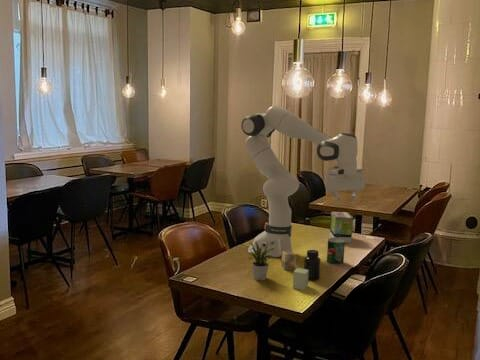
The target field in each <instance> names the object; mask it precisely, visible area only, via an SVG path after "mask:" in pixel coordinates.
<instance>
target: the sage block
mask: <svg viewBox="0 0 480 360" xmlns="http://www.w3.org/2000/svg"><path fill="white" fill-rule="evenodd" d="M308 273H309V270H307V269H304V268H299V267H295V270H294V271H293V274H292V275H293V278H292V289H295V290H300V291H306V289H307V288H308V284H309V280H308Z"/></svg>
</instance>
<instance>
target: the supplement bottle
mask: <svg viewBox="0 0 480 360" xmlns="http://www.w3.org/2000/svg"><path fill="white" fill-rule="evenodd" d="M303 269H307V270H309V273H308V281H311V282H312V281H318V280H319V279H320V277H321V258H320V256H319V251H318V250H316V249H308V250H307V251H306V256H305V257H304V263H303Z"/></svg>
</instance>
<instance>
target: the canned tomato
mask: <svg viewBox="0 0 480 360" xmlns="http://www.w3.org/2000/svg"><path fill="white" fill-rule="evenodd" d="M345 245H346V243H345V240H343V239H339V238H331V237H329V238H328V239H327V249H326V250H327V251H326V252H327V253H326V263H327V264H329V265H332V266H342V265H344V261H345V259H344V258H345Z"/></svg>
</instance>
